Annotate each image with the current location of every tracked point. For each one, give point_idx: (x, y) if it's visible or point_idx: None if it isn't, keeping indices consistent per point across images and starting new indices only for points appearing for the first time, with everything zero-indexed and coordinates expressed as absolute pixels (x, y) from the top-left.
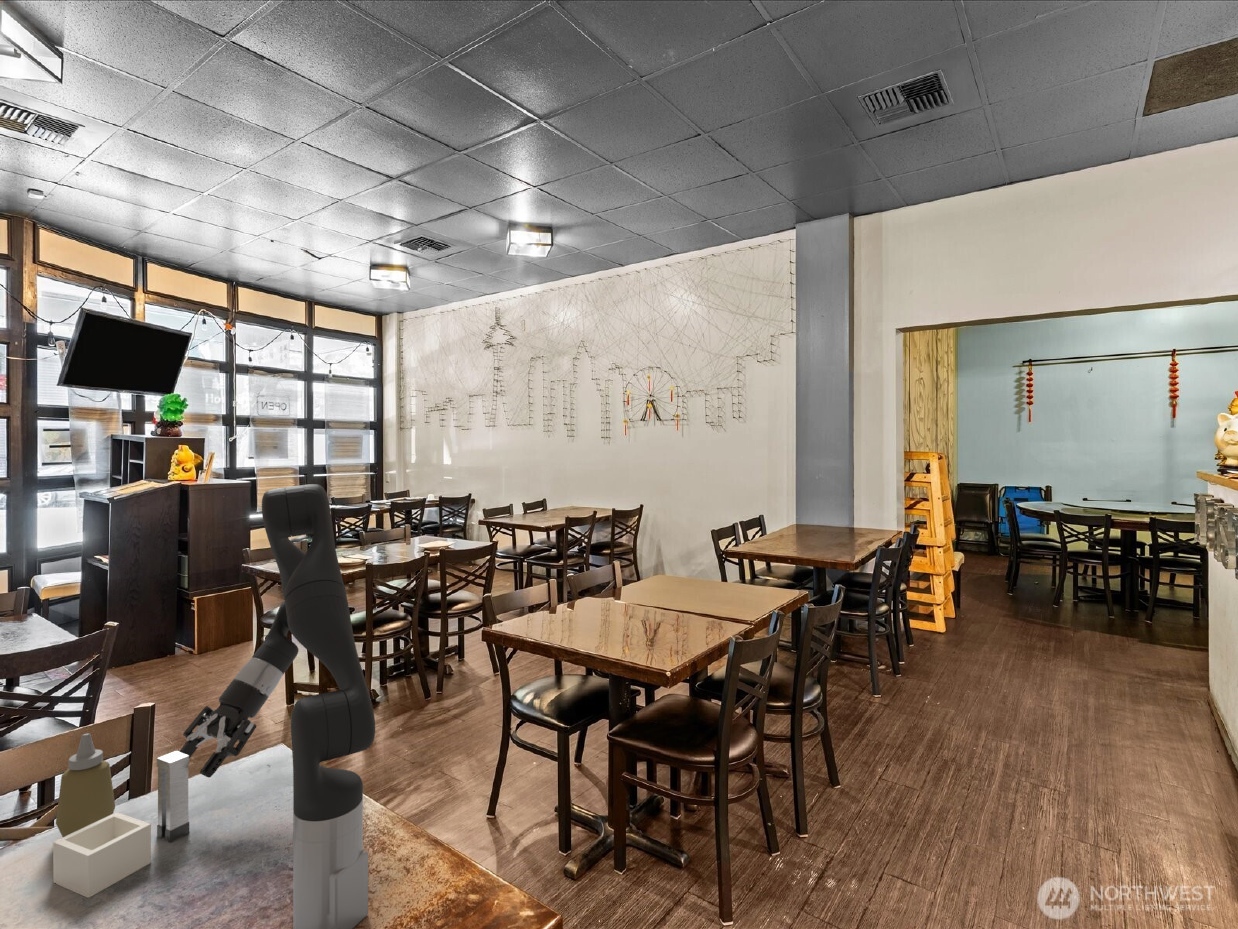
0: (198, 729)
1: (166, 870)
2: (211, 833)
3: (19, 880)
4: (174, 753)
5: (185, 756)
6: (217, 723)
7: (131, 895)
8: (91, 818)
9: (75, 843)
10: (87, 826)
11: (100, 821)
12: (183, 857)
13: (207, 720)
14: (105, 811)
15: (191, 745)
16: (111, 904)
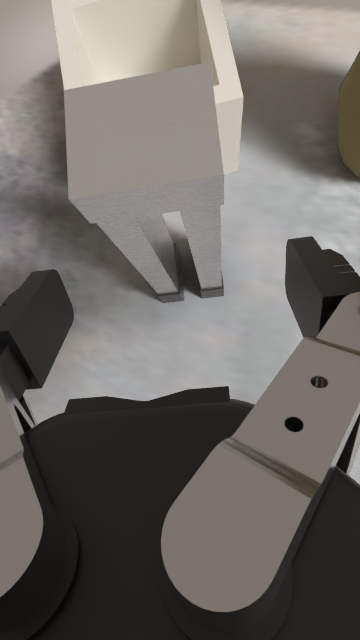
0: (325, 349)
1: (55, 212)
2: (113, 335)
3: (286, 19)
4: (185, 151)
5: (74, 179)
6: (158, 501)
7: (32, 144)
8: (346, 88)
9: (200, 21)
10: (221, 22)
11: (220, 51)
12: (71, 252)
13: (326, 455)
14: (355, 120)
15: (316, 318)
16: (37, 115)
